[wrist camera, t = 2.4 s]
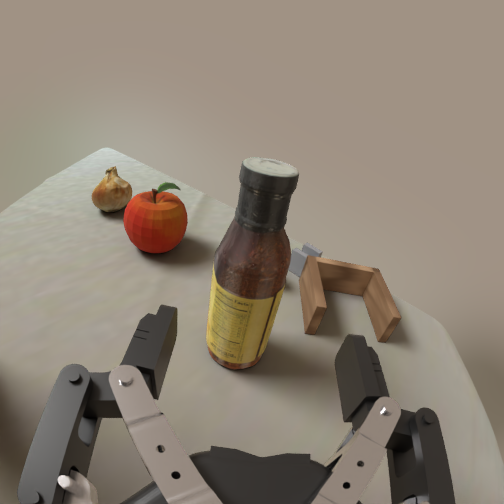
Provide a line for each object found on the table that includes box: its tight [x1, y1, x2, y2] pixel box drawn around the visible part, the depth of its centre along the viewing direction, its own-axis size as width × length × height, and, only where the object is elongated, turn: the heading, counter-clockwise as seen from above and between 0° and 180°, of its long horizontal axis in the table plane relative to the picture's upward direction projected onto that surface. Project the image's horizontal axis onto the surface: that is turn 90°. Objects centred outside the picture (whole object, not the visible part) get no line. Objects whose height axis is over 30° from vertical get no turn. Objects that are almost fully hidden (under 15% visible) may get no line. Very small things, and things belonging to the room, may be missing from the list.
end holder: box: [299, 255, 401, 342], centre depth 39 cm, size 11×11×4 cm
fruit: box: [124, 182, 188, 253], centre depth 42 cm, size 10×10×10 cm
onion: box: [92, 166, 132, 212], centre depth 50 cm, size 8×8×8 cm
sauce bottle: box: [206, 157, 299, 370], centre depth 26 cm, size 6×6×20 cm
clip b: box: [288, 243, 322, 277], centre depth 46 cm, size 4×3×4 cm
